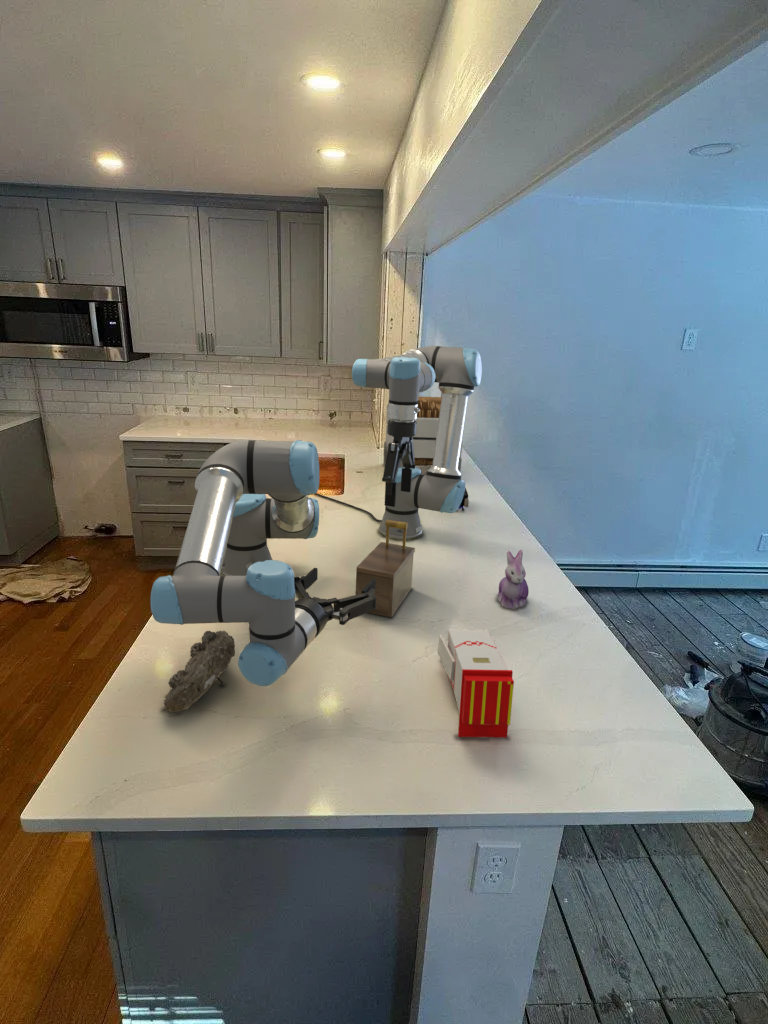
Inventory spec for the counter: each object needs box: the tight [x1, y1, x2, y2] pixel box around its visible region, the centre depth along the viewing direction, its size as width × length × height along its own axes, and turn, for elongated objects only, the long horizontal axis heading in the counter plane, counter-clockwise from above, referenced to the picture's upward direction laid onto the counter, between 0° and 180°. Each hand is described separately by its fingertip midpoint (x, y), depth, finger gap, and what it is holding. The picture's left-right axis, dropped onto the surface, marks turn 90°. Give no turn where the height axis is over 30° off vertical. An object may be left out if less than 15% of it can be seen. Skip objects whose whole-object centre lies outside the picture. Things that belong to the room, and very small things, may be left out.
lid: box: [355, 520, 416, 579], centre depth 150 cm, size 18×10×9 cm, turn 161°
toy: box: [437, 628, 515, 738], centre depth 117 cm, size 12×13×30 cm
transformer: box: [383, 391, 465, 474], centre depth 268 cm, size 34×33×41 cm
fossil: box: [163, 630, 236, 713], centre depth 116 cm, size 22×10×15 cm
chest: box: [355, 552, 415, 618], centre depth 153 cm, size 18×10×11 cm, turn 161°
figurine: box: [497, 549, 530, 610], centre depth 154 cm, size 9×10×15 cm
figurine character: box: [458, 486, 470, 512], centre depth 229 cm, size 7×8×15 cm
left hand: (344, 578), depth 123 cm, fingers open, 13 cm apart
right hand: (398, 498), depth 153 cm, fingers open, 13 cm apart
